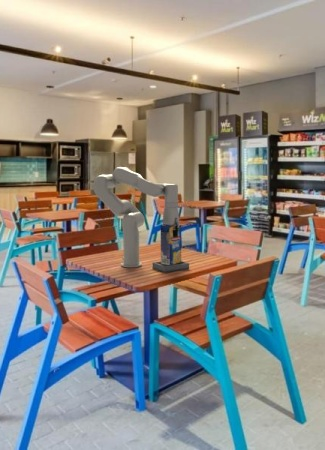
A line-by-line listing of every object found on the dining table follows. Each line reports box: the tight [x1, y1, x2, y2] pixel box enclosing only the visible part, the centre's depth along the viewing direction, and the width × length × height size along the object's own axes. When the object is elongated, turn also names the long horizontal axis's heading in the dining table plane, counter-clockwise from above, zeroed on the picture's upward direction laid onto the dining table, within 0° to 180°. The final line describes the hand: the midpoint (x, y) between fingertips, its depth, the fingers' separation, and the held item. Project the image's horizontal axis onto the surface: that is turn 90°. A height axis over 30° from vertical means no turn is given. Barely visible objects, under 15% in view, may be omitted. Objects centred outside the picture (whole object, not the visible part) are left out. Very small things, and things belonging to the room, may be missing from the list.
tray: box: [152, 260, 190, 274], centre depth 246 cm, size 13×17×4 cm
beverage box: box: [160, 224, 182, 265], centre depth 244 cm, size 7×11×22 cm, turn 143°
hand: (171, 235), depth 244 cm, fingers closed on beverage box, 7 cm apart
